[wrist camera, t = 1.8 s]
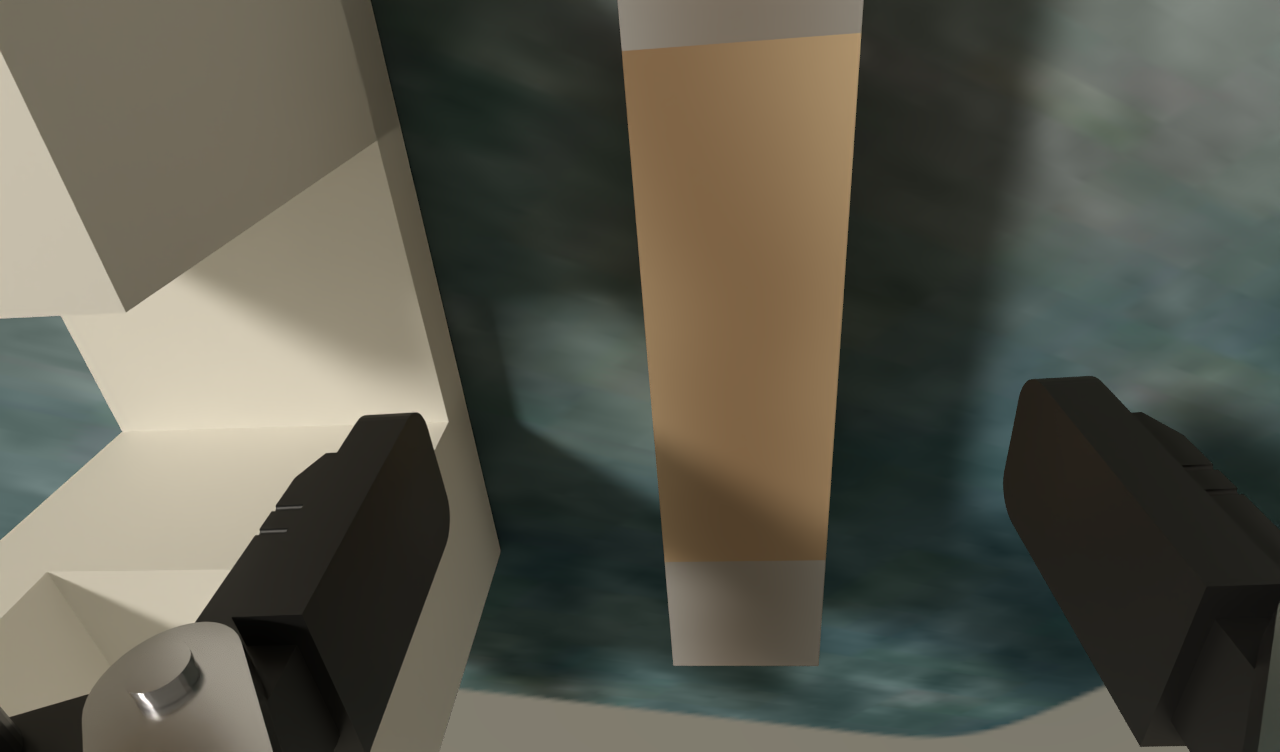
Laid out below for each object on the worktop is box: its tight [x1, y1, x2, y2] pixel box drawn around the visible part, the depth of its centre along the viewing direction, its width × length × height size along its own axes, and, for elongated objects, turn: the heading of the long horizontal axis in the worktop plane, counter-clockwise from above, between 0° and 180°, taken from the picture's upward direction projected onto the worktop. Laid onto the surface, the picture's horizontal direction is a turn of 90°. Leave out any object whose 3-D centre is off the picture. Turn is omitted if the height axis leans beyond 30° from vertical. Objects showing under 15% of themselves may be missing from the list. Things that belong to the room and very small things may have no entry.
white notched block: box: [0, 0, 501, 752], centre depth 13 cm, size 8×16×8 cm, turn 4°
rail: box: [618, 0, 864, 666], centre depth 13 cm, size 3×15×4 cm, turn 4°
